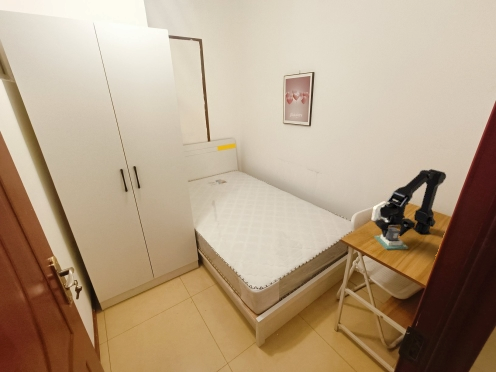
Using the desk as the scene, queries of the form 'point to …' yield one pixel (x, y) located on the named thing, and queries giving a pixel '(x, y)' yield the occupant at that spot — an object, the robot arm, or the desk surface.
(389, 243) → the socket
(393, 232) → the plug
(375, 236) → the board
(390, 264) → the desk surface
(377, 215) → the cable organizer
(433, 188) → the robot arm
